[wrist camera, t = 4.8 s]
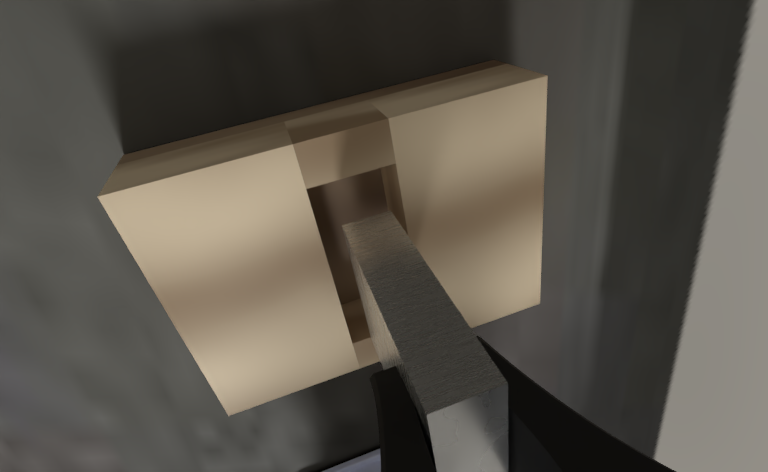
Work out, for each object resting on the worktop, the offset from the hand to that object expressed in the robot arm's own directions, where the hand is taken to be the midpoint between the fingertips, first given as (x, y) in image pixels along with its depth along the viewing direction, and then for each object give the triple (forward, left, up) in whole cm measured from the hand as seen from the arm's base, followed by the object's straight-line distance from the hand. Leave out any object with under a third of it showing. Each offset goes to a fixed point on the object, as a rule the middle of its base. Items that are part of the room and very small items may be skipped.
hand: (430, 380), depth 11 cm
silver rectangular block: (0, 0, -5) cm, 5 cm away
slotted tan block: (0, 0, -9) cm, 9 cm away
